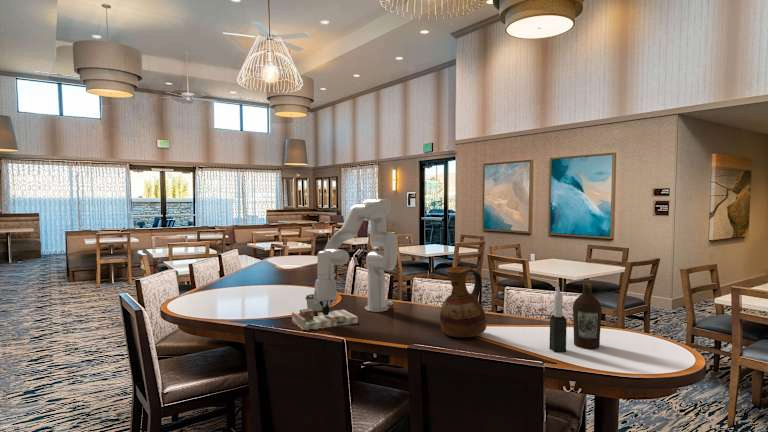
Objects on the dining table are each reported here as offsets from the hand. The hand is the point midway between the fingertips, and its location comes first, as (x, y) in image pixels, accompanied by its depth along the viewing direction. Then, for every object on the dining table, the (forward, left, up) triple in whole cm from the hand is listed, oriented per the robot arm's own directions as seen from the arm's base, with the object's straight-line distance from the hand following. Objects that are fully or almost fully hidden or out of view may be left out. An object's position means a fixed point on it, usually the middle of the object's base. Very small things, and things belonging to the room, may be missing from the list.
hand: (325, 314), depth 206 cm
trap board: (0, 0, -4) cm, 4 cm away
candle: (-64, +81, -4) cm, 103 cm away
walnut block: (+10, 0, -1) cm, 10 cm away
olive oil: (-79, +83, -4) cm, 115 cm away
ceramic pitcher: (-45, +47, -4) cm, 65 cm away
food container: (-3, -17, -4) cm, 18 cm away
